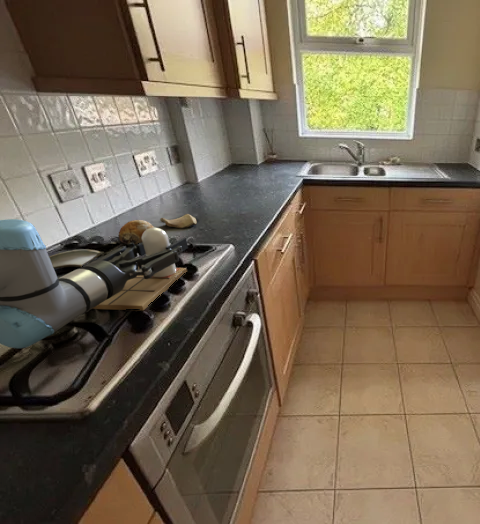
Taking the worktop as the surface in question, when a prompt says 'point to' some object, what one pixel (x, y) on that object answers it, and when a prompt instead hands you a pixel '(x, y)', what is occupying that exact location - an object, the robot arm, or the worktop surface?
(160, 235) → the white domed cylinder
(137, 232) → the bread roll
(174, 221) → the pottery shard
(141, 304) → the game board
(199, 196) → the worktop surface
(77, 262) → the ceramic fragment
